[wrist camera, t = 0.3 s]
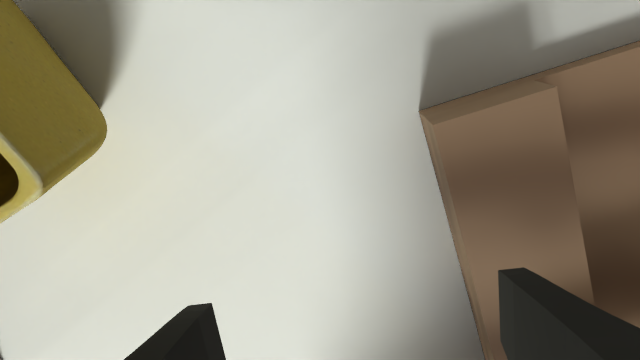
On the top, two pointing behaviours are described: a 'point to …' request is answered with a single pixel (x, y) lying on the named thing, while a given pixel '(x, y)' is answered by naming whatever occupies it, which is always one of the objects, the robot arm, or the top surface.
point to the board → (545, 184)
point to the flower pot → (39, 115)
